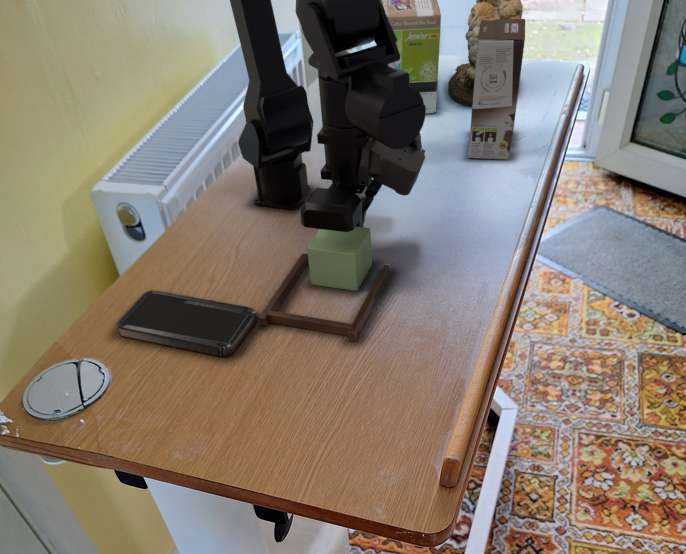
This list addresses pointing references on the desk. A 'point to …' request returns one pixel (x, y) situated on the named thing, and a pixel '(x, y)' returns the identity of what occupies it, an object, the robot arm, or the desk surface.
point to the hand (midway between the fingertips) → (355, 244)
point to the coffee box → (496, 87)
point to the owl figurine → (490, 5)
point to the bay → (315, 323)
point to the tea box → (417, 44)
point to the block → (340, 258)
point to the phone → (187, 322)
